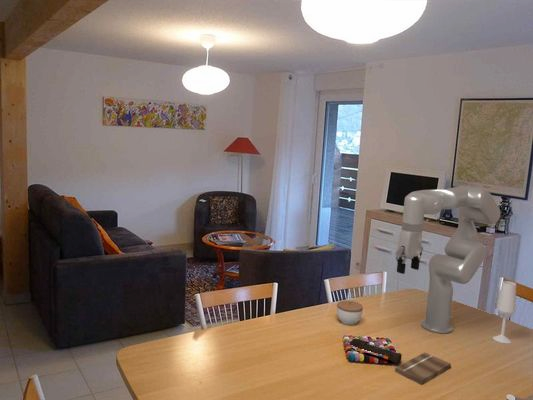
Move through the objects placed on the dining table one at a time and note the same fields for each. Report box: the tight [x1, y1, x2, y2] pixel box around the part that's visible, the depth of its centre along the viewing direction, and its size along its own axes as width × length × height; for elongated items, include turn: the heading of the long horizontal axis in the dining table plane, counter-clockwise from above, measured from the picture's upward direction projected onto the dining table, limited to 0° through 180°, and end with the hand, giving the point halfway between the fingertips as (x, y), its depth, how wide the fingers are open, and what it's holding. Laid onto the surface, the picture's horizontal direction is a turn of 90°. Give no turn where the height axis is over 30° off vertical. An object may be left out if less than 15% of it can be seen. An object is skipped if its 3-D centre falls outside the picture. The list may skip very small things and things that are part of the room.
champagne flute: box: [492, 280, 517, 344], centre depth 184 cm, size 7×7×24 cm
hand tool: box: [349, 337, 403, 366], centre depth 165 cm, size 19×4×5 cm, turn 55°
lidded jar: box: [336, 299, 364, 326], centre depth 194 cm, size 11×11×9 cm
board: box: [394, 352, 452, 385], centre depth 157 cm, size 19×10×2 cm, turn 131°
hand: (407, 270), depth 176 cm, fingers open, 9 cm apart
